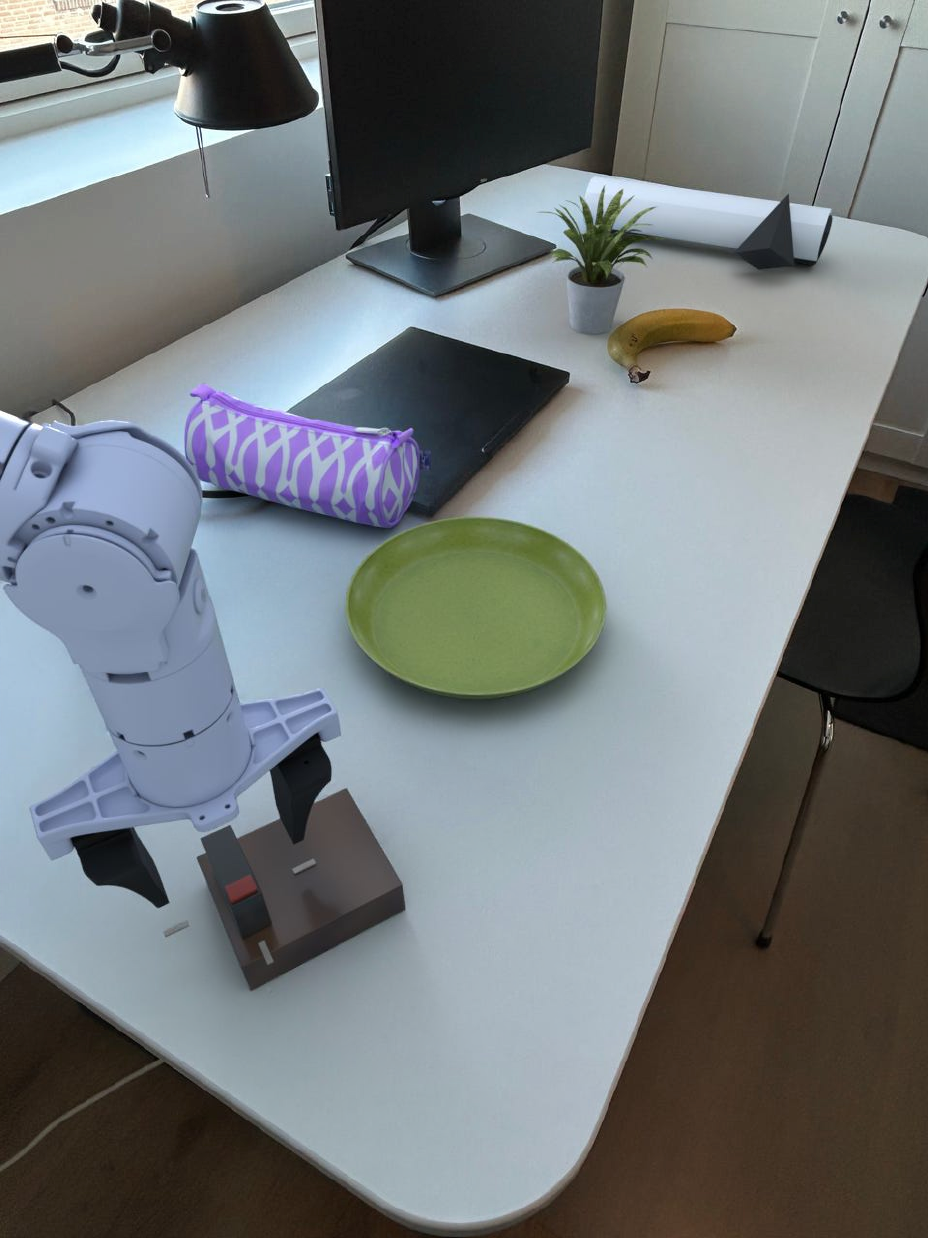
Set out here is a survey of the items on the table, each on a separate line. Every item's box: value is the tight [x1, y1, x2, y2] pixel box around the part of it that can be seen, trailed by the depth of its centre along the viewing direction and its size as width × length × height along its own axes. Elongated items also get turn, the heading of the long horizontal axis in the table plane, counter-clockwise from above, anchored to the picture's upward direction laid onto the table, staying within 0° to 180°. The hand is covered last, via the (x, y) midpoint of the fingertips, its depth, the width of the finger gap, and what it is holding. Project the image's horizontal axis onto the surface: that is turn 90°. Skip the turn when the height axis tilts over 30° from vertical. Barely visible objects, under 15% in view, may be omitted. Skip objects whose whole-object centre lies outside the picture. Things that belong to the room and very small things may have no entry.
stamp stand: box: [162, 787, 406, 992], centre depth 53 cm, size 13×9×3 cm
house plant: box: [537, 186, 666, 335], centre depth 105 cm, size 14×14×16 cm
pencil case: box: [183, 382, 432, 529], centre depth 81 cm, size 22×9×10 cm, turn 71°
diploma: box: [582, 175, 834, 271], centre depth 124 cm, size 35×9×14 cm
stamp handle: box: [200, 824, 272, 939], centre depth 50 cm, size 5×2×4 cm, turn 31°
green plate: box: [344, 516, 607, 700], centre depth 71 cm, size 21×21×3 cm
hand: (227, 859), depth 48 cm, fingers open, 7 cm apart
